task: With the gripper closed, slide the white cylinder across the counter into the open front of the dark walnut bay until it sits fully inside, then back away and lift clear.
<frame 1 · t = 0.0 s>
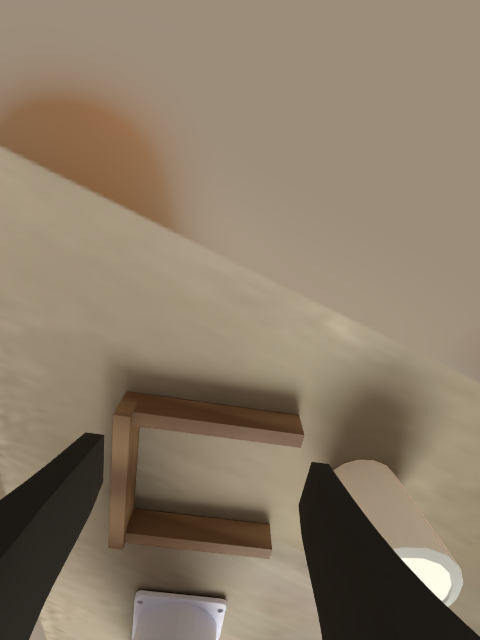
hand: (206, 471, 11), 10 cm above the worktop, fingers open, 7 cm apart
walnut bay: (215, 470, 24), on the worktop
white cylinder: (358, 486, 25), on the worktop
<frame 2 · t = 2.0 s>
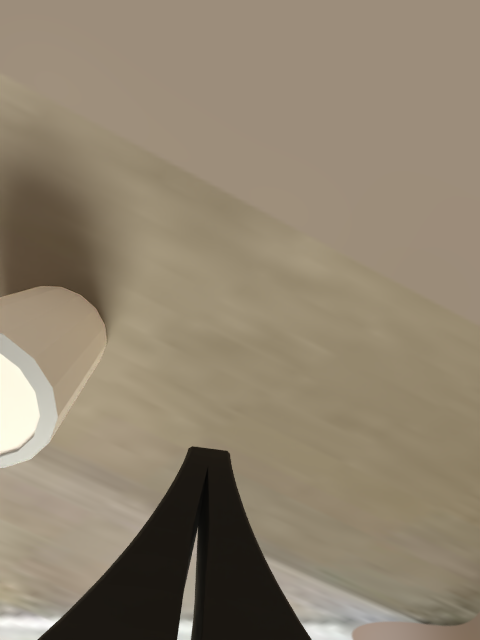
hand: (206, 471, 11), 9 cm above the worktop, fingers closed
white cylinder: (60, 330, 19), on the worktop
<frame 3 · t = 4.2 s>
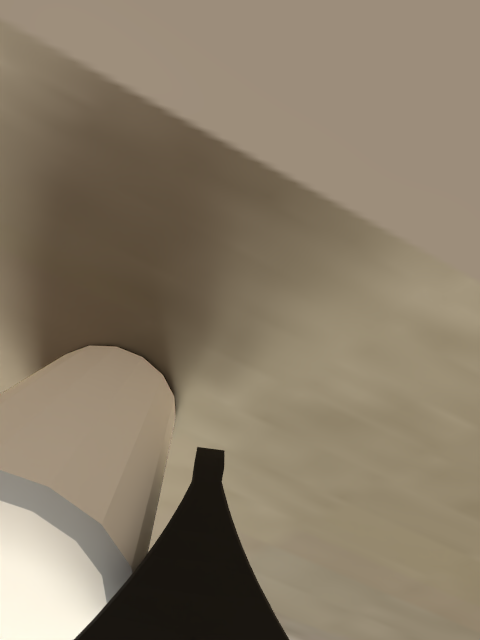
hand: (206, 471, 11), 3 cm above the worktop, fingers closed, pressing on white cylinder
white cylinder: (112, 402, 14), on the worktop, touching gripper
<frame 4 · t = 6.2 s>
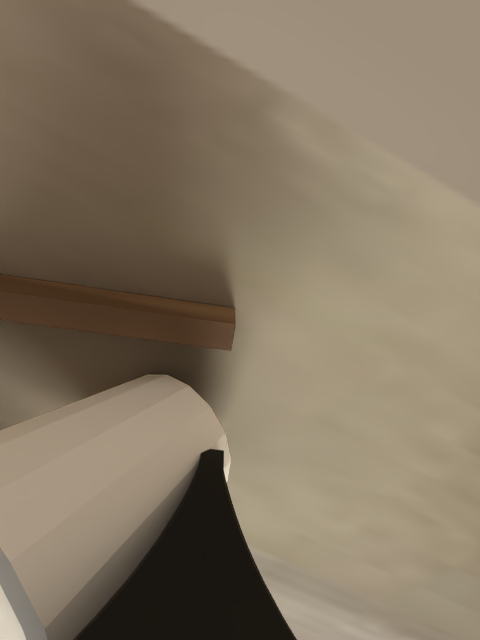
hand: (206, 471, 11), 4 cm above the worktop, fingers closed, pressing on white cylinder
walnut bay: (104, 414, 15), on the worktop
white cylinder: (175, 435, 14), point 1 cm above the worktop, touching gripper
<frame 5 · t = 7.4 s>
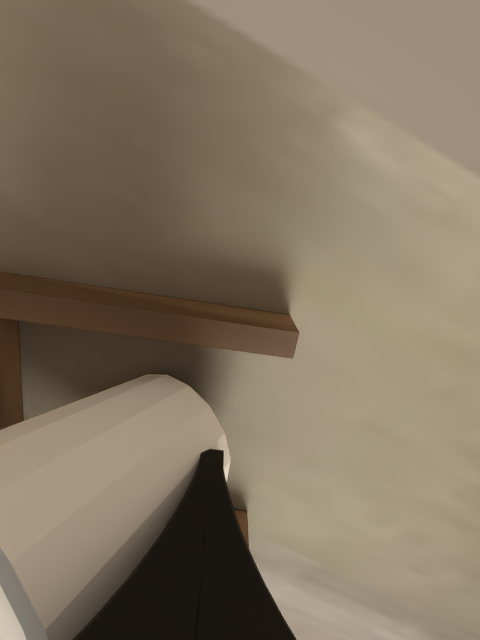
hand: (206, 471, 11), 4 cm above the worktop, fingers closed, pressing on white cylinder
walnut bay: (154, 419, 15), on the worktop
white cylinder: (175, 435, 14), point 1 cm above the worktop, touching gripper
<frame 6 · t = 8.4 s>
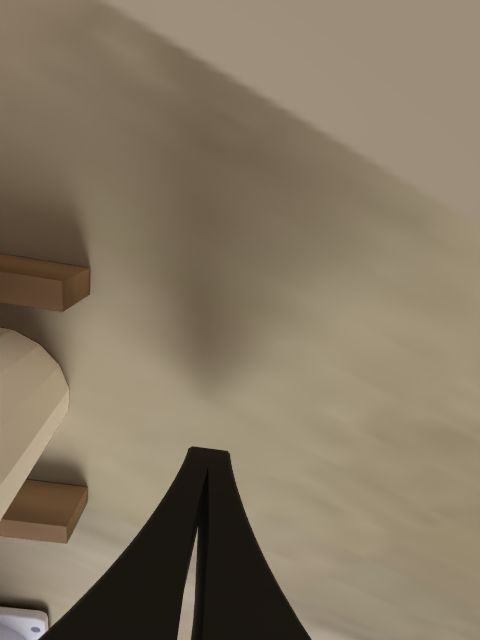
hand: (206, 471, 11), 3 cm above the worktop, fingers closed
white cylinder: (3, 385, 14), on the worktop
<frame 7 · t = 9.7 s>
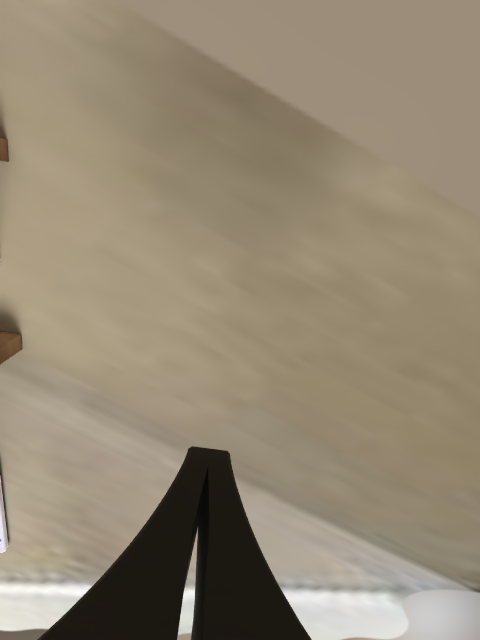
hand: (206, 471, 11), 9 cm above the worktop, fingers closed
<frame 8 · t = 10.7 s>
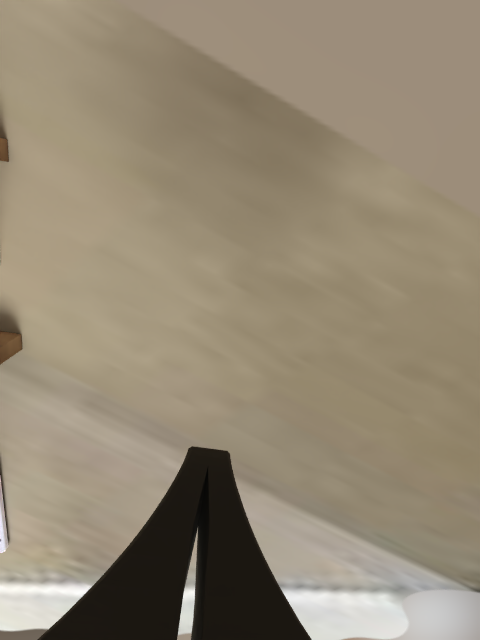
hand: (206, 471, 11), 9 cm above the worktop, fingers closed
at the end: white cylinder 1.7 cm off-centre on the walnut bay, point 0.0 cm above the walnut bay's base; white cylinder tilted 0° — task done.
